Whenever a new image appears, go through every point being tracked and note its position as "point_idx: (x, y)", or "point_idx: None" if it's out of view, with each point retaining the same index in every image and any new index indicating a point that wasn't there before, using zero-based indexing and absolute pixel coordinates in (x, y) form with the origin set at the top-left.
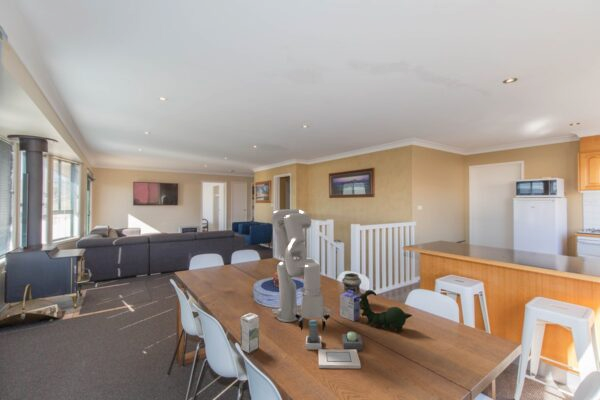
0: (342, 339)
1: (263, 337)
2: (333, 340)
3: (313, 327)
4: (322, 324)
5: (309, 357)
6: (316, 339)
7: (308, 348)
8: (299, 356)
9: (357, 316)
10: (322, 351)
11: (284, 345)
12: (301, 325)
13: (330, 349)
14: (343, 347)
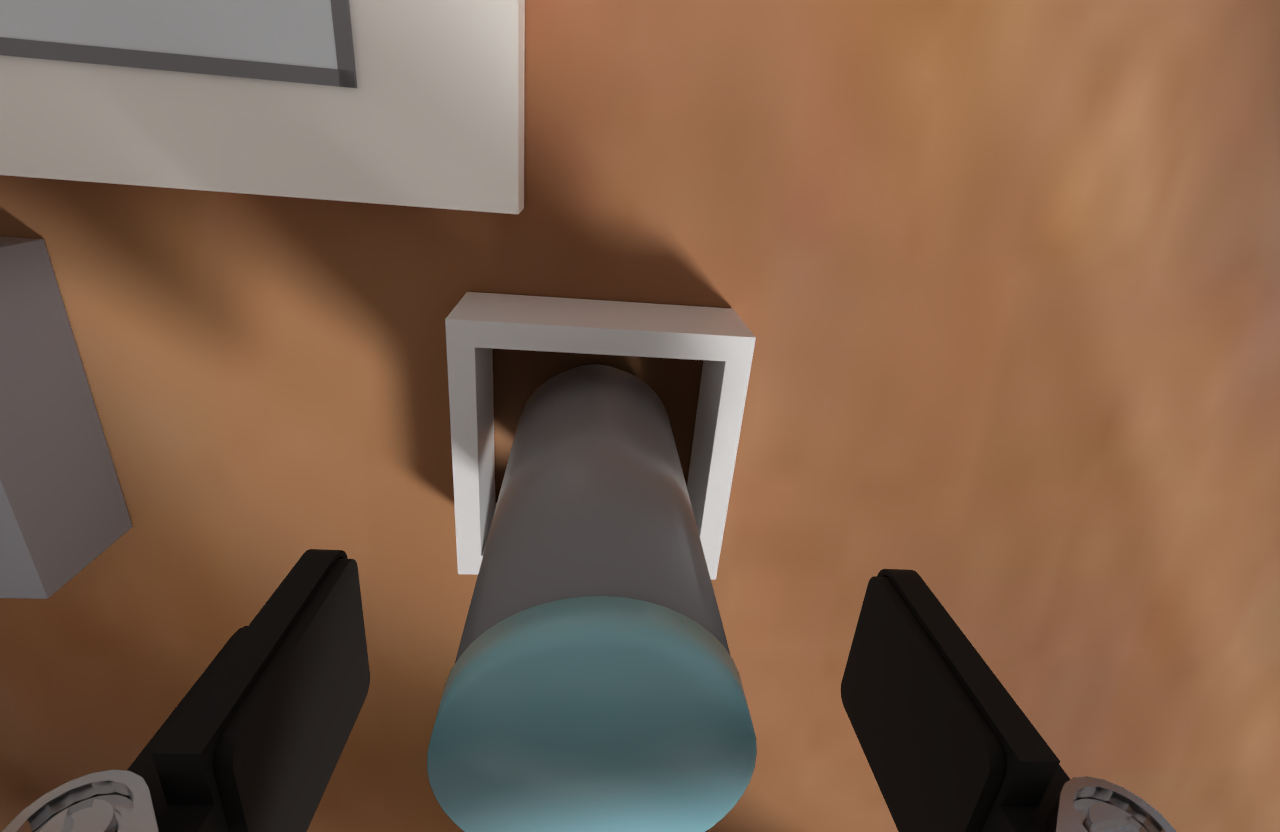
0: (62, 492)
1: (1245, 623)
2: (278, 539)
3: (596, 565)
4: (274, 677)
5: (697, 37)
6: (539, 417)
7: (691, 311)
8: (871, 90)
9: None
10: (435, 129)
11: (1034, 435)
12: (959, 652)
13: (274, 195)
14: (67, 328)
